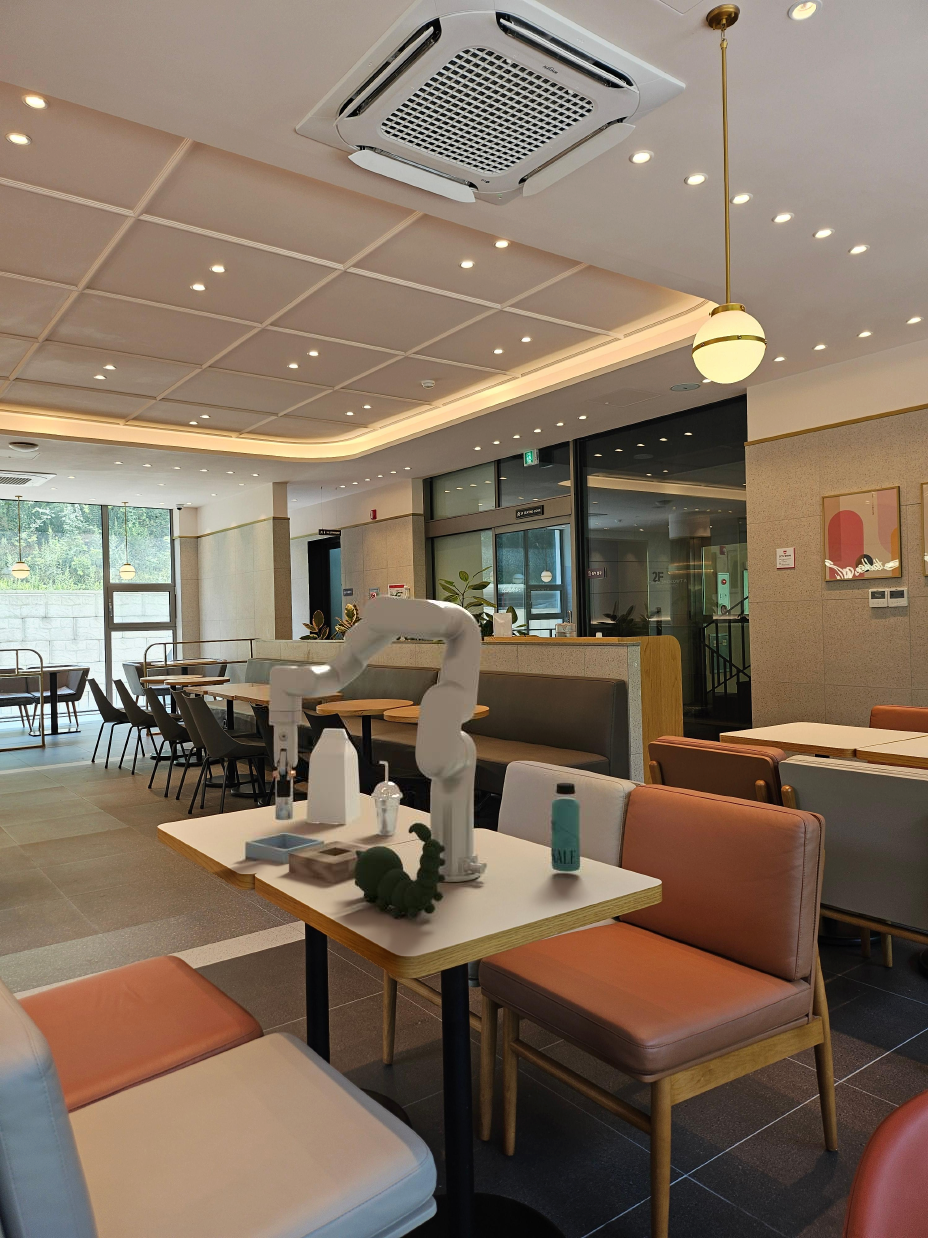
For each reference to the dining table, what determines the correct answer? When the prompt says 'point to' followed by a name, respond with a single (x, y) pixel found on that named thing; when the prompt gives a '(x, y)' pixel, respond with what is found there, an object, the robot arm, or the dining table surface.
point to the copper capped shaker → (284, 801)
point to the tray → (278, 847)
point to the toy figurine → (401, 877)
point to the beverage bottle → (565, 830)
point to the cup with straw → (386, 804)
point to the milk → (333, 780)
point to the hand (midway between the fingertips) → (284, 794)
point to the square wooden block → (326, 861)
